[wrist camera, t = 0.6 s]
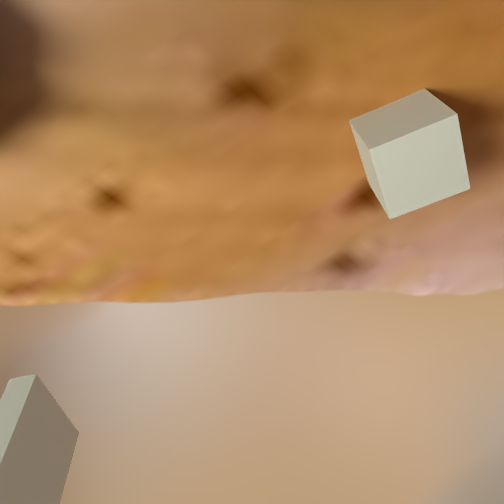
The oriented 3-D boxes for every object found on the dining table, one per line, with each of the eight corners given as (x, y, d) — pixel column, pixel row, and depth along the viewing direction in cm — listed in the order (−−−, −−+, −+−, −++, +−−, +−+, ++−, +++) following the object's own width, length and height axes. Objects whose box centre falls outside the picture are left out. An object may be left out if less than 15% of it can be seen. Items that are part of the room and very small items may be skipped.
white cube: (424, 87, 36) (458, 113, 31) (438, 155, 39) (471, 188, 34) (348, 120, 37) (369, 149, 32) (368, 183, 40) (389, 219, 35)
